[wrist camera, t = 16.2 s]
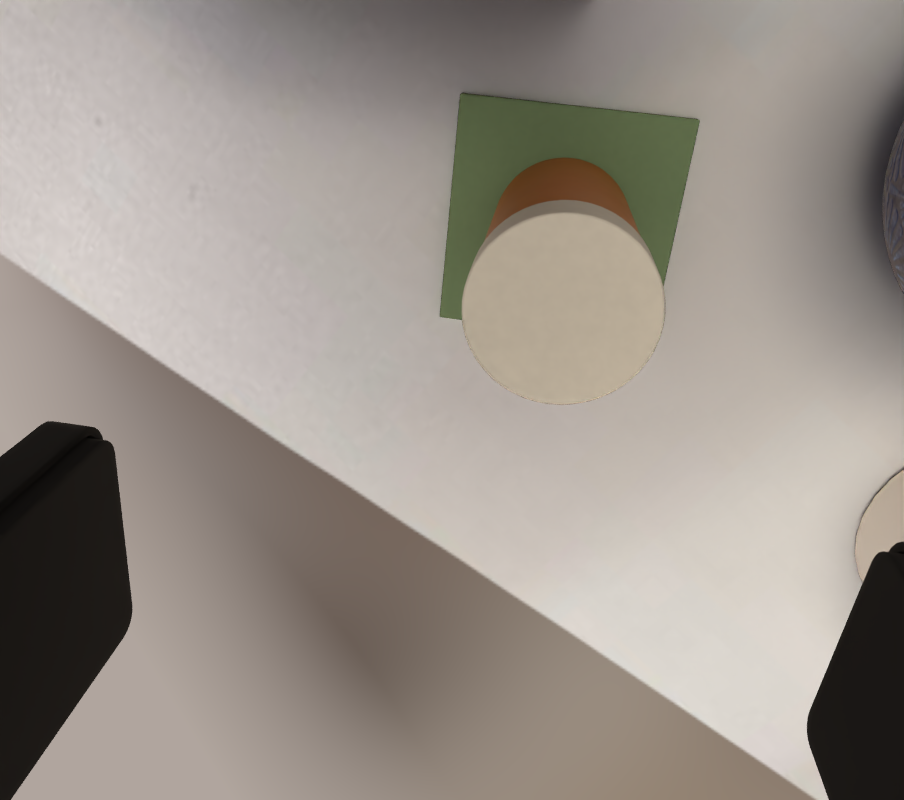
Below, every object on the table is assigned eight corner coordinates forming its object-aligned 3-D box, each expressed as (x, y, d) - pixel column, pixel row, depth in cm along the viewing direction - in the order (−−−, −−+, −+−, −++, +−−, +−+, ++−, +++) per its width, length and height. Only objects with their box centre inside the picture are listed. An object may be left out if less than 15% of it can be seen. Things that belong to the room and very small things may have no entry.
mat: (441, 313, 38) (439, 317, 37) (461, 92, 33) (460, 93, 33) (649, 341, 37) (650, 345, 36) (698, 119, 33) (700, 120, 32)
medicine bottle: (484, 285, 36) (452, 391, 25) (500, 147, 34) (472, 200, 23) (618, 302, 36) (643, 418, 25) (645, 163, 33) (686, 226, 22)
